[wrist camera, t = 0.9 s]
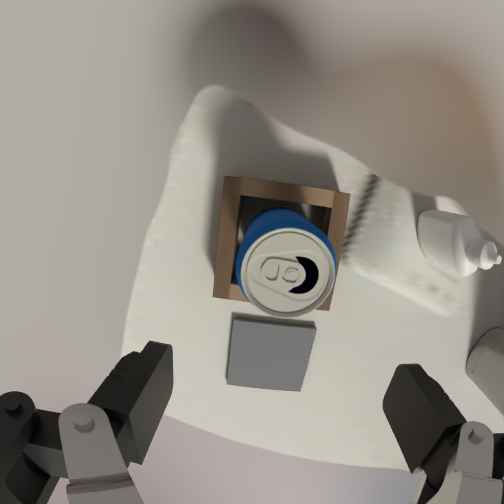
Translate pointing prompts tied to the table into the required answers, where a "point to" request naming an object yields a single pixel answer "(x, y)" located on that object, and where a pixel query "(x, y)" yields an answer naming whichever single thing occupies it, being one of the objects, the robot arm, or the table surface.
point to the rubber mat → (269, 354)
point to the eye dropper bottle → (455, 243)
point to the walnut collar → (238, 187)
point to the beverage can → (285, 264)
